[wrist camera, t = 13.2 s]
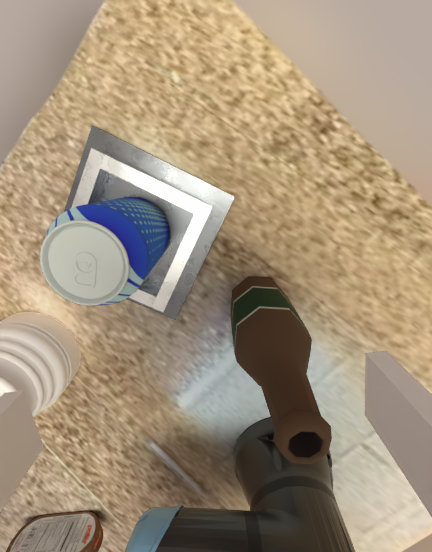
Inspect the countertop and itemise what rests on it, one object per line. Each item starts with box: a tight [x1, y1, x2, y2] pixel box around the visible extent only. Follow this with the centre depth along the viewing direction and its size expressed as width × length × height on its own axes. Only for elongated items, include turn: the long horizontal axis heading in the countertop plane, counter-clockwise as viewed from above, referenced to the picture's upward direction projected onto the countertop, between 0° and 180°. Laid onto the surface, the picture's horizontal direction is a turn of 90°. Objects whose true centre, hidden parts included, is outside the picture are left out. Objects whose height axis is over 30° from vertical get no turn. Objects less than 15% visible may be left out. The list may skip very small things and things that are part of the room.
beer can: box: [40, 197, 170, 305], centre depth 30 cm, size 8×8×16 cm
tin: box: [6, 511, 103, 552], centre depth 50 cm, size 15×3×8 cm, turn 98°
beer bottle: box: [231, 277, 332, 464], centre depth 30 cm, size 8×8×24 cm
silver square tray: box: [64, 125, 235, 320], centre depth 37 cm, size 18×18×4 cm
